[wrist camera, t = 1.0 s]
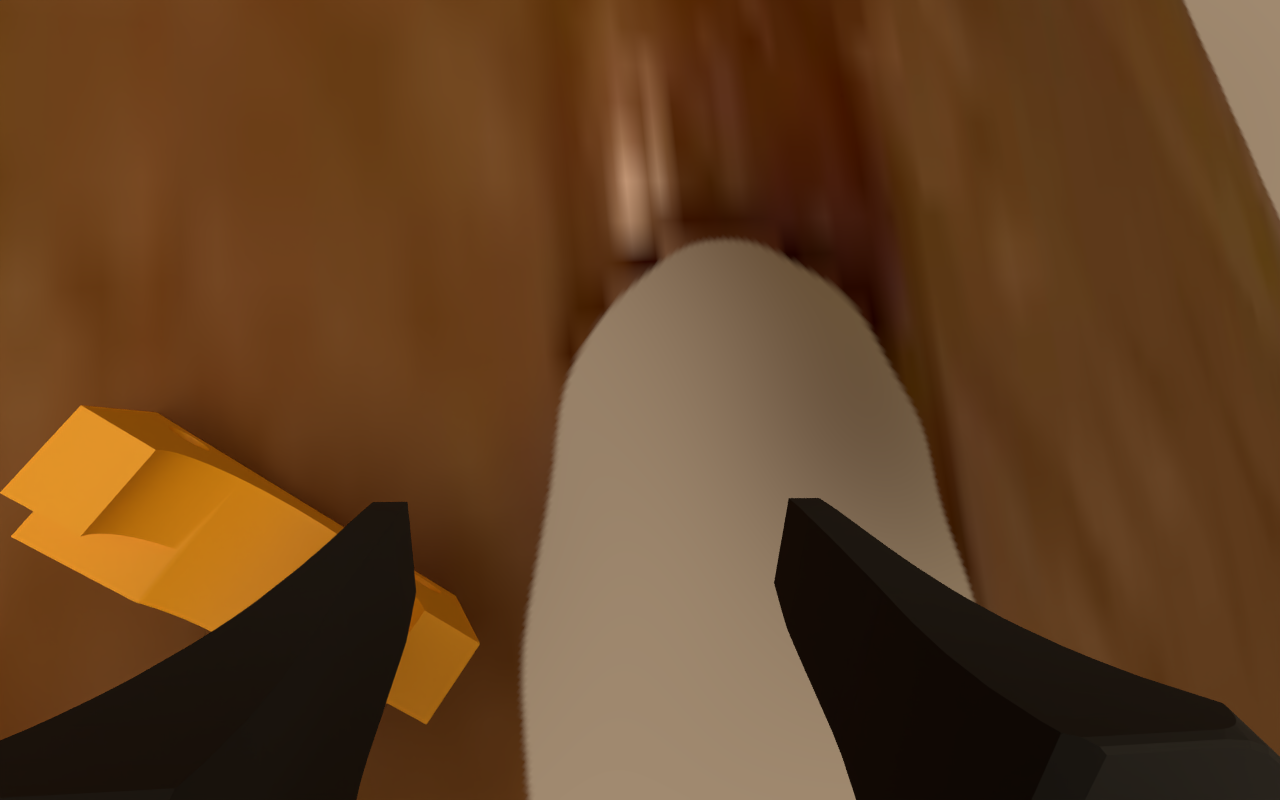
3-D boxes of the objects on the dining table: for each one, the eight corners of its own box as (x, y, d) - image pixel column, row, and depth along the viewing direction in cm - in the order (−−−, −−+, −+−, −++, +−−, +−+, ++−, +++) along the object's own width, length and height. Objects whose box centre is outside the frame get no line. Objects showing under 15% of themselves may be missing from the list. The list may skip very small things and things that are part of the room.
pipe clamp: (61, 521, 22) (-60, 556, 16) (158, 412, 23) (80, 405, 17) (384, 697, 25) (387, 782, 19) (455, 594, 26) (480, 643, 20)
